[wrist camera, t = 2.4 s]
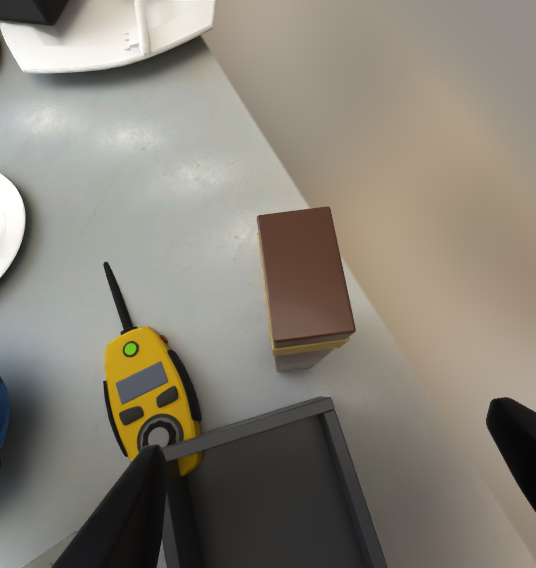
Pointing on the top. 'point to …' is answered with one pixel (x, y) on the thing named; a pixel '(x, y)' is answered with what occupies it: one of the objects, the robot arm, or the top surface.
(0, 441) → the bomb
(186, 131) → the top surface
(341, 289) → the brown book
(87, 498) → the top surface
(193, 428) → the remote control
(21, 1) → the battery
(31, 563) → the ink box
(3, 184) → the candle holder
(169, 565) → the tray
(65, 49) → the plate
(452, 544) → the top surface
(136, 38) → the key
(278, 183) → the top surface
